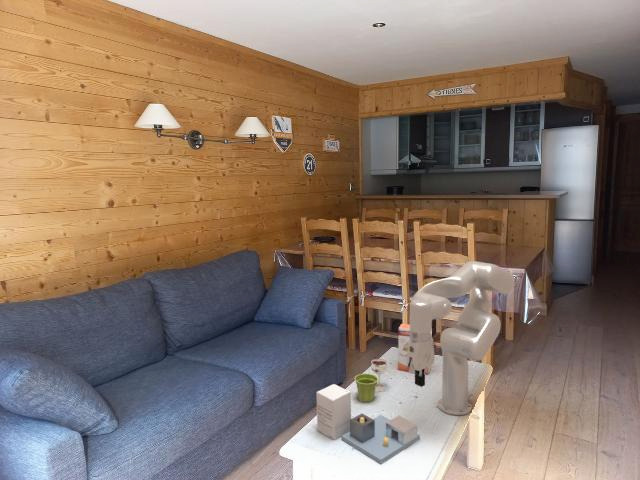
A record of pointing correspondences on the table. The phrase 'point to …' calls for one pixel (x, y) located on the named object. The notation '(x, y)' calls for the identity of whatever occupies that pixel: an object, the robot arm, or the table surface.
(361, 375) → the plant pot
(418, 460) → the table surface
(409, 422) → the housing cover
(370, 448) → the assembly board
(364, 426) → the block
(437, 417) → the table surface
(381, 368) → the wineglass
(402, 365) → the cracker box
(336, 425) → the supplement box
